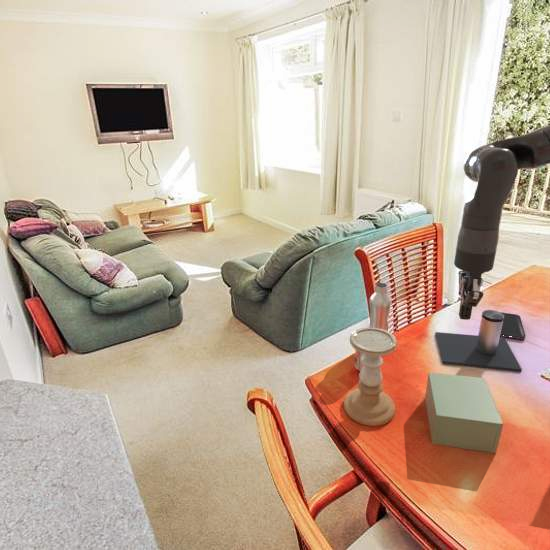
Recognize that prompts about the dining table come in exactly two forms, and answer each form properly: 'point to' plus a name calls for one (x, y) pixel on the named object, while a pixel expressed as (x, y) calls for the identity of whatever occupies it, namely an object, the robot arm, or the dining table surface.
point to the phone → (512, 326)
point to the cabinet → (462, 412)
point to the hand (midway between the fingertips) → (464, 317)
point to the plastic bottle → (380, 307)
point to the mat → (474, 352)
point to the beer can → (358, 360)
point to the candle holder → (371, 378)
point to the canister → (489, 332)
